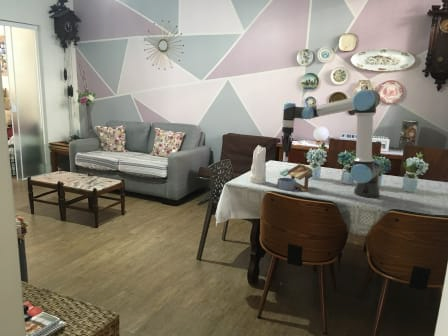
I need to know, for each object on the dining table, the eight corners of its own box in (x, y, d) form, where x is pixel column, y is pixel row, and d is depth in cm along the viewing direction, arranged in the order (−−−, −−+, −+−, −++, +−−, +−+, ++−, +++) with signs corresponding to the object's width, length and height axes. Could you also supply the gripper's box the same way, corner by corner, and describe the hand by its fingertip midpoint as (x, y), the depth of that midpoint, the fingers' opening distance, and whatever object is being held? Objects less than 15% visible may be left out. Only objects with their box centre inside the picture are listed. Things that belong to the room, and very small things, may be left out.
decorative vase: (264, 184, 243) (267, 147, 238) (248, 182, 245) (251, 146, 240) (266, 180, 254) (268, 145, 249) (251, 179, 256) (253, 144, 251)
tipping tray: (314, 176, 232) (311, 168, 230) (297, 186, 230) (294, 178, 228) (297, 168, 253) (294, 161, 251) (281, 177, 251) (278, 170, 249)
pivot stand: (310, 191, 231) (311, 176, 229) (302, 191, 229) (303, 176, 227) (295, 183, 250) (296, 169, 247) (287, 183, 248) (288, 169, 246)
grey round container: (298, 189, 233) (298, 181, 232) (282, 190, 230) (283, 182, 229) (290, 185, 244) (290, 177, 242) (275, 186, 240) (275, 178, 239)
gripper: (278, 125, 245) (276, 159, 250) (287, 127, 233) (284, 163, 238) (288, 125, 247) (286, 159, 252) (297, 127, 235) (294, 163, 240)
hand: (285, 161), depth 245 cm, fingers closed
